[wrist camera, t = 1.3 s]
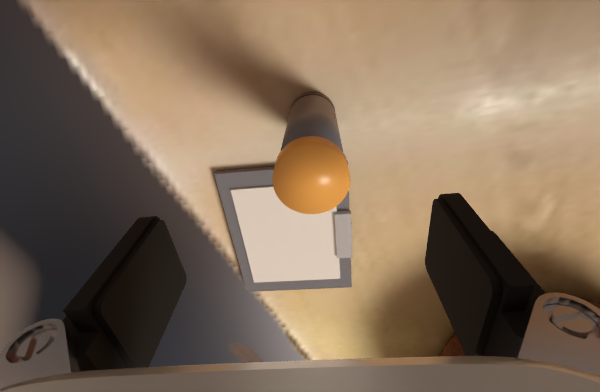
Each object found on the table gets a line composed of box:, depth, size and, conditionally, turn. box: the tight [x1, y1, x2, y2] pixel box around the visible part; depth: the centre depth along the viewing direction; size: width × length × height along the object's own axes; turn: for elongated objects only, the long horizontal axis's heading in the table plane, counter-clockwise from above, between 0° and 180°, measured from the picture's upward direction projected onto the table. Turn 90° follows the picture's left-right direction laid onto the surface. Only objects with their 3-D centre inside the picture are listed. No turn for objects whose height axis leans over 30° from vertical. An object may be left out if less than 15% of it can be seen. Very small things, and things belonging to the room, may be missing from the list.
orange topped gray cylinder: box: [272, 92, 350, 214], centre depth 19 cm, size 4×4×11 cm
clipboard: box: [214, 162, 352, 292], centre depth 29 cm, size 11×14×1 cm
